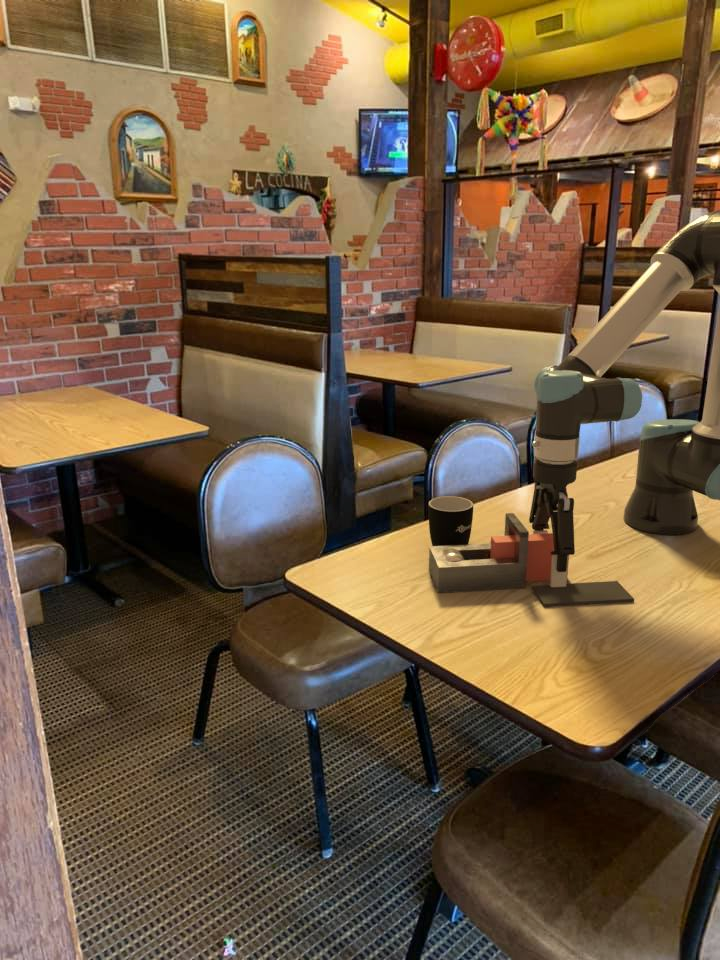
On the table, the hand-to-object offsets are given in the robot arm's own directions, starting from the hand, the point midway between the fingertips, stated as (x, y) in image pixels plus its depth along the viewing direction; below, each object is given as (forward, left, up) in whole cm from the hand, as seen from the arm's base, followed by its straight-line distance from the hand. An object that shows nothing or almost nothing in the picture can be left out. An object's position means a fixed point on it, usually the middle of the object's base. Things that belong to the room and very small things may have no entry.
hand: (547, 573), depth 135 cm
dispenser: (+12, -1, -1) cm, 13 cm away
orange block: (+3, -1, -1) cm, 4 cm away
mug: (+14, -16, -1) cm, 21 cm away
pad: (-4, +8, -1) cm, 8 cm away
